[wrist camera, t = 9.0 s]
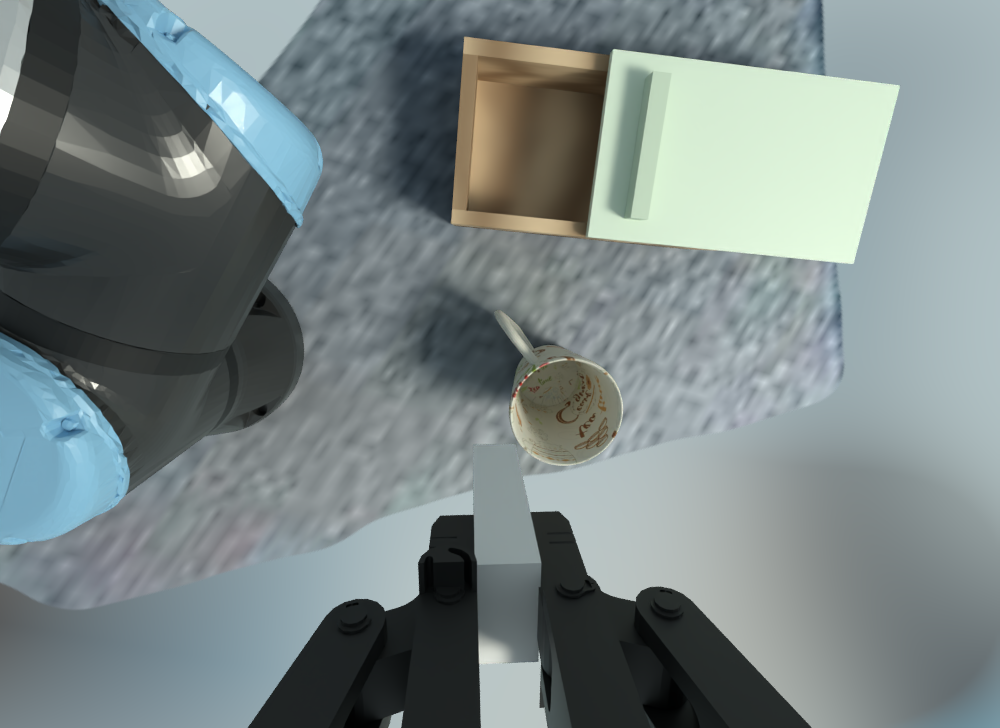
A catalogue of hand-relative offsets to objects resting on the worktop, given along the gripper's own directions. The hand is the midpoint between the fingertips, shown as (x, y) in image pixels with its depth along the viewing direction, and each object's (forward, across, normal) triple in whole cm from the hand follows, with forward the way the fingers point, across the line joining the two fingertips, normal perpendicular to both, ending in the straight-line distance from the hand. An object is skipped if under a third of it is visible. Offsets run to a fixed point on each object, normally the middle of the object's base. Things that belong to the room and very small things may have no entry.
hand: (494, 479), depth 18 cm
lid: (+21, +18, +13) cm, 31 cm away
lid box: (+28, +8, +14) cm, 32 cm away
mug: (+28, +5, -3) cm, 28 cm away
